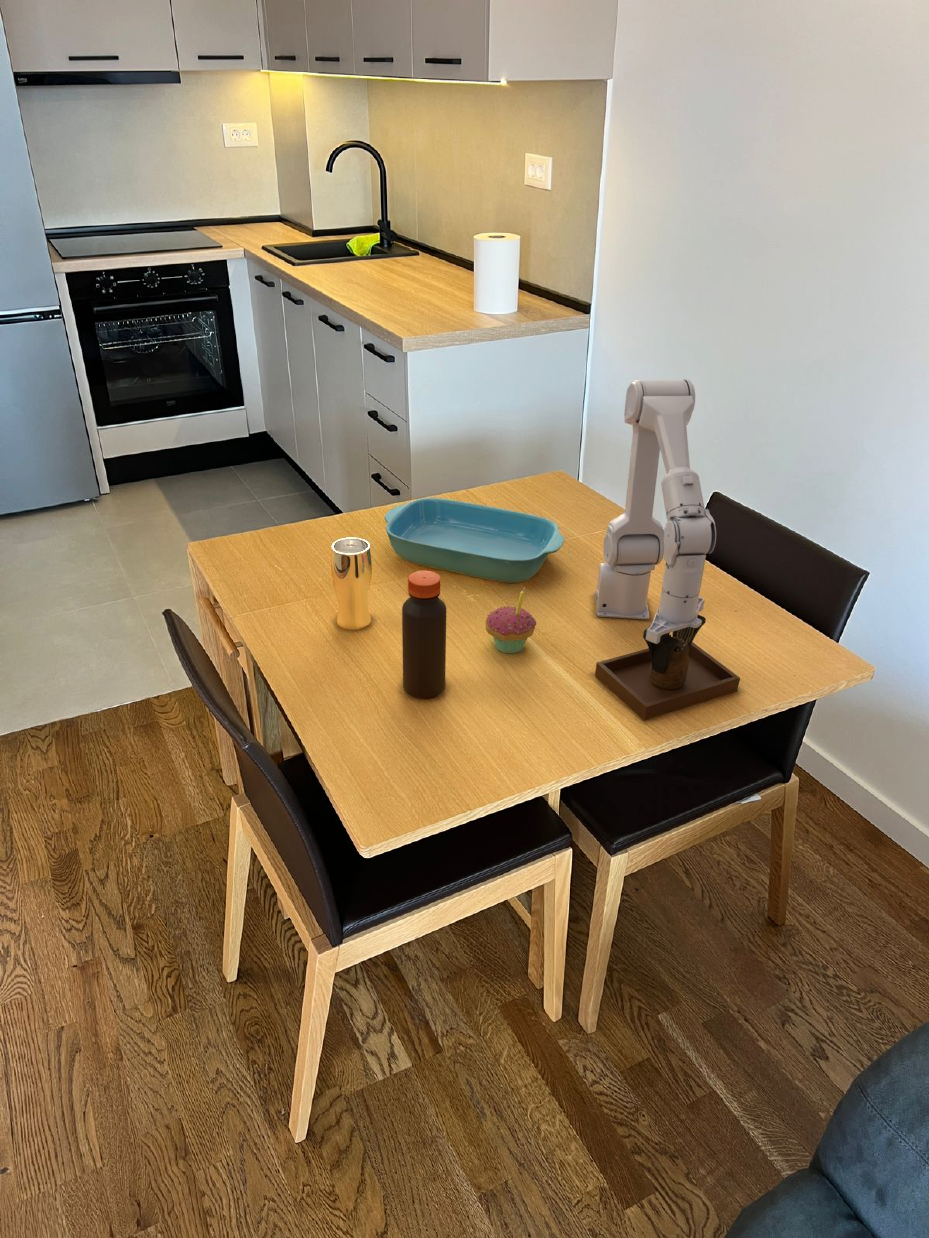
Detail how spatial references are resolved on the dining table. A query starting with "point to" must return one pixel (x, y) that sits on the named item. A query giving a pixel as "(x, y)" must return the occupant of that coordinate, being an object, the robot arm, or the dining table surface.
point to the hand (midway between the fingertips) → (668, 662)
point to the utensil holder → (673, 668)
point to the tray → (651, 701)
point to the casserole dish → (472, 538)
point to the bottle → (424, 636)
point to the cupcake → (510, 627)
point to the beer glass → (352, 581)
